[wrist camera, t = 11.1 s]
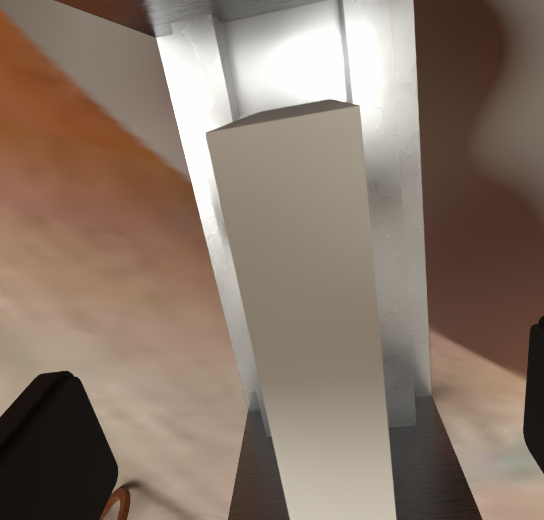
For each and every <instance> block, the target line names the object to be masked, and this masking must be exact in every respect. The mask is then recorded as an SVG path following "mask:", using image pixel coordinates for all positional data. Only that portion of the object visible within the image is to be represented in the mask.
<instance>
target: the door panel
mask: <svg viewBox="0 0 544 520" xmlns="http://www.w3.org/2000/svg"><path fill="white" fill-rule="evenodd" d="M205 135H206V140H207V144H208V149H209V154H210V158H211V163H212V167H213V172H214V176H215V181H216V185H217V190H218V195H219V199H220V204H221V208H222V213H223V217H224V222H225V226H226V231H227V236H228V240H229V245H230V249H231V254H232V258H233V263H234V267H235V272H236V277H237V281H238V286H239V290H240V295H241V299H242V304H243V308H244V313H245V318H246V322H247V327H248V331H249V336H250V340H251V345H252V349H253V354H254V358H255V363H256V368H257V372H258V377H259V381H260V386H261V390H262V395H263V399H264V404H265V409H266V413H267V418H268V422H269V427H270V431H271V436H272V440H273V445H274V450H275V454H276V459H277V463H278V468H279V472H280V477H281V481H282V486H283V491H284V495H285V500H286V504H287V509H288V513H289V518H290V520H396V509H395V498H394V487H393V475H392V464H391V453H390V441H389V430H388V419H387V407H386V396H385V385H384V373H383V362H382V351H381V339H380V328H379V317H378V305H377V294H376V283H375V271H374V260H373V249H372V238H371V226H370V215H369V204H368V192H367V181H366V170H365V158H364V147H363V136H362V124H361V113H360V106H359V105H355V104H351V103H347V102H342V101H338V100H334V99H327V100H322V101H316V102H311V103H305V104H300V105H294V106H288V107H283V108H277V109H272V110H266V111H261V112H257V113H255V114H252V115H250V116H247V117H245V118H242V119H239V120H237V121H234V122H232V123H229V124H226V125H224V126H221V127H219V128H216V129H214V130H211V131H208V132H206V133H205Z"/></svg>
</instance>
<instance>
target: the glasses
mask: <svg viewBox="0 0 544 520" xmlns="http://www.w3.org/2000/svg"><path fill="white" fill-rule="evenodd" d="M119 499H120V511H119V515H118V519H117V520H127V516H128V512H129V507H130V493H129V491H128V490H126V489H124V488H119V489H117V490H115V491H114V492H113V493H112V494H111V495H110V498H109V500H108V502H107V504H106V506H105V508H104V511H103V513H102V515H101V517H100V519H99V520H103V518H104V516H105V514H106V513H107V511H108V510H109V509H110V507H111V506H112V505H113V504H114V503H115V502H116V501H118V500H119Z"/></svg>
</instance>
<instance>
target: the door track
mask: <svg viewBox="0 0 544 520" xmlns="http://www.w3.org/2000/svg"><path fill="white" fill-rule="evenodd" d="M55 1H58V2H61V3H64V4H66V5H69V6H72V7H74V8H77V9H80V10H82V11H85V12H88V13H91V14H93V15H96V16H99V17H102V18H104V19H107V20H110V21H112V22H115V23H118V24H121V25H123V26H126V27H129V28H131V29H134V30H137V31H140V32H142V33H145V34H148V35H150V36H153V37H156V39H157V43H158V47H159V51H160V55H161V59H162V63H163V67H164V72H165V76H166V79H167V84H168V87H169V91H170V96H171V100H172V104H173V108H174V112H175V116H176V120H177V124H178V128H179V132H180V136H181V140H182V145H183V149H184V153H185V157H186V161H187V165H188V169H189V173H190V177H191V181H192V185H193V189H194V193H195V198H196V202H197V206H198V210H199V214H200V218H201V222H202V226H203V230H204V234H205V238H206V242H207V246H208V250H209V254H210V258H211V262H212V267H213V271H214V275H215V279H216V283H217V287H218V291H219V295H220V299H221V303H222V307H223V311H224V315H225V319H226V323H227V327H228V332H229V336H230V340H231V344H232V348H233V352H234V356H235V360H236V364H237V368H238V372H239V376H240V380H241V384H242V388H243V392H244V397H245V401H246V405H247V409H248V415H247V420H246V426H245V431H244V436H243V442H242V447H241V452H240V458H239V463H238V469H237V474H236V479H235V485H234V490H233V496H232V501H231V506H230V512H229V517H228V520H290V518H289V513H288V509H287V504H286V500H285V495H284V491H283V486H282V481H281V477H280V472H279V468H278V463H277V459H276V454H275V450H274V445H273V440H272V436H271V431H270V427H269V422H268V418H267V413H266V409H265V404H264V399H263V395H262V390H261V386H260V381H259V377H258V372H257V368H256V363H255V358H254V354H253V349H252V345H251V340H250V336H249V331H248V327H247V322H246V318H245V313H244V308H243V304H242V299H241V295H240V290H239V286H238V281H237V277H236V272H235V267H234V263H233V258H232V254H231V249H230V245H229V240H228V236H227V231H226V226H225V222H224V217H223V213H222V208H221V204H220V199H219V195H218V190H217V185H216V181H215V176H214V172H213V167H212V163H211V158H210V154H209V149H208V144H207V140H206V135H205V133H206V132H208V131H211V130H214V129H216V128H219V127H221V126H224V125H226V124H229V123H232V122H234V121H237V120H239V119H242V118H245V117H247V116H250V115H252V114H255V113H257V112H261V111H266V110H272V109H277V108H283V107H288V106H294V105H300V104H305V103H311V102H316V101H322V100H327V99H334V100H338V101H342V102H347V103H351V104H355V105H359V106H360V113H361V124H362V136H363V147H364V158H365V170H366V181H367V192H368V204H369V215H370V226H371V238H372V249H373V260H374V271H375V283H376V294H377V305H378V317H379V328H380V339H381V351H382V362H383V373H384V385H385V396H386V407H387V419H388V430H389V441H390V453H391V464H392V475H393V487H394V498H395V509H396V520H482V517H481V515H480V512H479V510H478V507H477V505H476V503H475V500H474V498H473V495H472V493H471V490H470V488H469V486H468V483H467V481H466V478H465V476H464V473H463V471H462V468H461V466H460V464H459V461H458V459H457V456H456V454H455V451H454V449H453V447H452V444H451V442H450V439H449V437H448V434H447V432H446V430H445V427H444V425H443V422H442V420H441V417H440V415H439V413H438V410H437V408H436V405H435V403H434V400H433V398H432V394H431V372H430V351H429V329H428V308H427V286H426V264H425V244H424V221H423V199H422V178H421V157H420V134H419V113H418V92H417V70H416V48H415V27H414V8H413V7H414V5H413V0H55Z"/></svg>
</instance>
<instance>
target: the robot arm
mask: <svg viewBox="0 0 544 520" xmlns="http://www.w3.org/2000/svg"><path fill="white" fill-rule="evenodd" d="M523 434H524V439H525V442H526V445H527V447H528V449H529V451H530V453H531V454H532V456H533V457H534V459H535V461H536V462H537V464H538V465H539V467H540V469H541V470H542V472H543V473H544V316H543V317H541V318H540V320H539V323H538V324H535V325H532V327H531V329H530V338H529V353H528V368H527V382H526V397H525V411H524V426H523ZM117 478H118V466H117V463H116V461H115V458H114V456H113V454H112V451H111V449H110V447H109V444H108V442H107V440H106V438H105V435H104V433H103V431H102V428H101V426H100V424H99V421H98V419H97V417H96V415H95V412H94V410H93V408H92V405H91V403H90V401H89V398H88V396H87V394H86V392H85V389H84V387H83V385H82V382H81V381H80V379H79V378H78V377H74V376H73V374H72V373H70V372H69V371H61V372H52V373H43V374H40V375H38V376H37V377H36V378H35V379H34V380H33V381H32V382H31V383H30V385H29V386H28V387H27V388H26V389H25V390H24V391H23V392H22V393H21V395H20V396H19V397H18V398H17V399H16V400H15V401H14V402H13V403H12V405H11V406H10V407H9V408H8V409H7V410H6V411H5V412H4V414H3V415H2V416H1V417H0V520H99V519H100V517H101V515H102V513H103V511H104V508H105V506H106V504H107V502H108V500H109V498H110V495H111V493H112V491H113V489H114V487H115V484H116V482H117Z"/></svg>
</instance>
